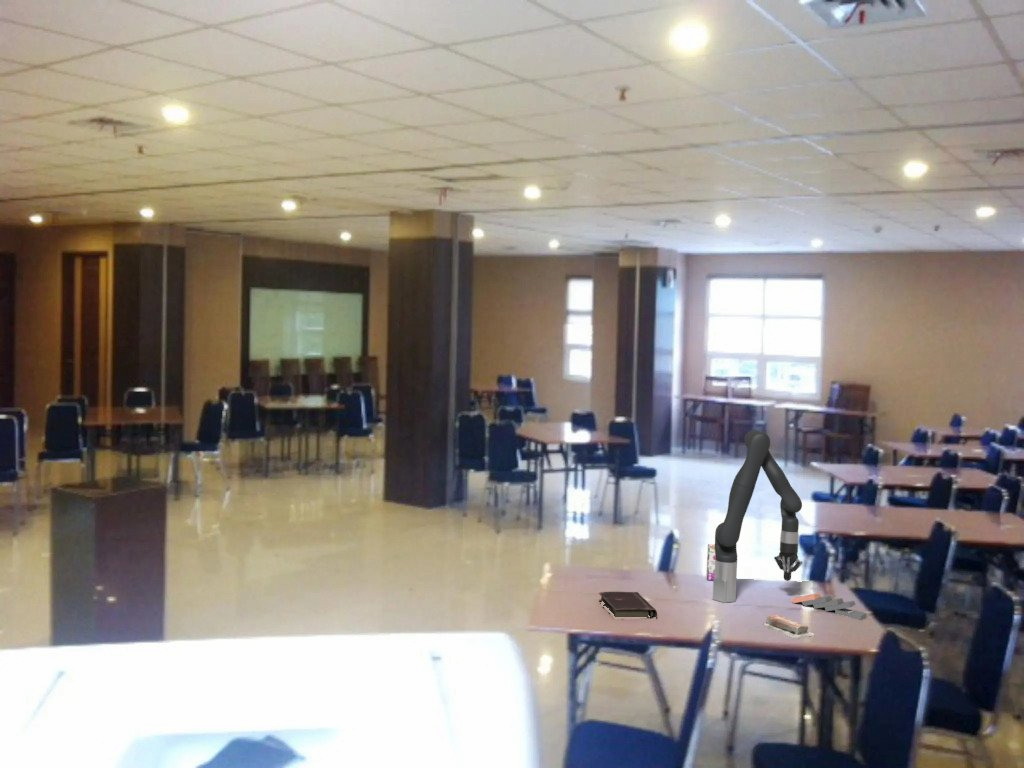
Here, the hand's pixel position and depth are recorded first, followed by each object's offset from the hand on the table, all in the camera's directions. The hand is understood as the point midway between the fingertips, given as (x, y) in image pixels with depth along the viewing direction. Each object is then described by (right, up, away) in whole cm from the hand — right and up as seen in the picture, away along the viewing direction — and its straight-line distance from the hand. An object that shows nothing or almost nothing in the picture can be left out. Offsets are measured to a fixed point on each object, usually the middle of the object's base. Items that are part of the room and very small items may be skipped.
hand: (787, 580), depth 411 cm
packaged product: (-12, -12, -41) cm, 45 cm away
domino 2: (+6, -8, -6) cm, 12 cm away
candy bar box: (-23, -7, +31) cm, 39 cm away
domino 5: (+16, -9, -16) cm, 25 cm away
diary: (-72, -9, -19) cm, 75 cm away
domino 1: (+3, -8, -2) cm, 9 cm away
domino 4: (+13, -9, -13) cm, 21 cm away
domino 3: (+10, -9, -9) cm, 16 cm away
